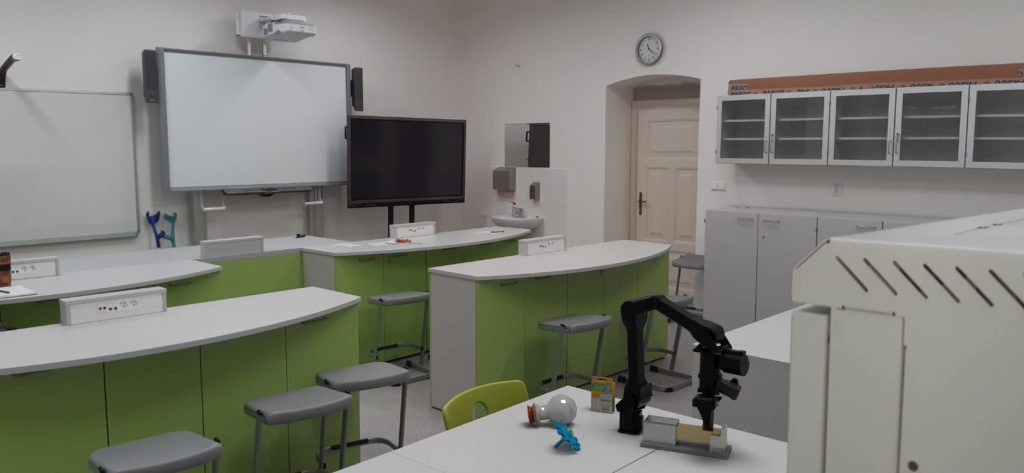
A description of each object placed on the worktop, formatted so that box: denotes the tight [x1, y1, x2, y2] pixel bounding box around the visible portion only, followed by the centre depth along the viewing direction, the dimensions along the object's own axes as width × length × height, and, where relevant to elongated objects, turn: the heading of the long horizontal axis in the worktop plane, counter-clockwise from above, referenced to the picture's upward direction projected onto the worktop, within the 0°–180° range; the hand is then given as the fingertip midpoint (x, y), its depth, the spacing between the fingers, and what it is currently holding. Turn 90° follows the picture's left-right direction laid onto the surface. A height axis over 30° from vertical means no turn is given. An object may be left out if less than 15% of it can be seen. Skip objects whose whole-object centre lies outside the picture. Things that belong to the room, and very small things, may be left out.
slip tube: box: [676, 410, 721, 444], centre depth 222 cm, size 14×4×9 cm, turn 67°
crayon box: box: [590, 375, 616, 415], centre depth 256 cm, size 7×3×12 cm, turn 66°
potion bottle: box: [526, 393, 578, 426], centre depth 242 cm, size 9×10×15 cm
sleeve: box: [643, 414, 681, 446], centre depth 226 cm, size 9×5×6 cm, turn 67°
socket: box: [710, 423, 728, 453], centre depth 220 cm, size 4×6×6 cm, turn 157°
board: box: [639, 438, 733, 461], centre depth 223 cm, size 24×9×1 cm, turn 67°
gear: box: [553, 421, 582, 452], centre depth 222 cm, size 11×6×10 cm
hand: (708, 424), depth 220 cm, fingers closed on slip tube, 3 cm apart
